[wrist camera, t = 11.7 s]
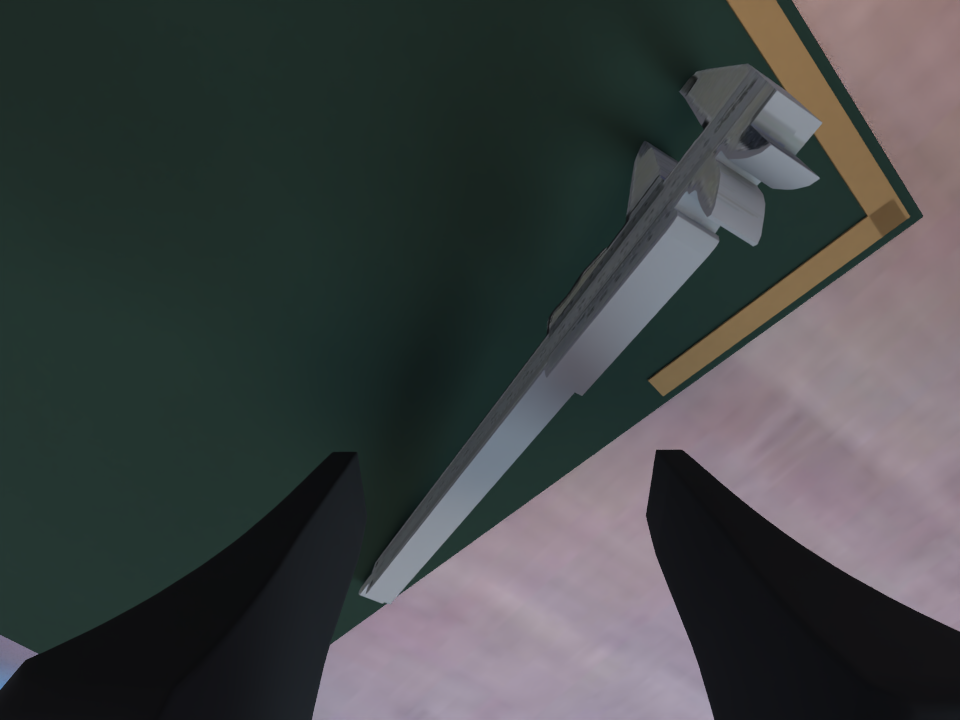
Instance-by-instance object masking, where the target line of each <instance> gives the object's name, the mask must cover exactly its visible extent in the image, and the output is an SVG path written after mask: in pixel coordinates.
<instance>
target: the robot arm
mask: <svg viewBox="0 0 960 720" xmlns="http://www.w3.org/2000/svg"><path fill="white" fill-rule="evenodd" d="M646 518H647V522H648V526H649V530H650V534H651V538H652V542H653V546H654V549H655V553H656V556H657V559H658V562H659V564H660V567H661V569H662V572H663V574H664V577H665V580H666V582H667V585H668V587H669V590H670V592H671V595H672V597H673V600H674V602H675V605H676V607H677V610H678V612H679V615H680V617H681V620H682V622H683V625H684V627H685V630H686V632H687V635H688V637H689V640H690V642H691V645H692V647H693V650H694V653H695V656H696V659H697V662H698V664H699V668H700V671H701V675H702V678H703V681H704V685H705V688H706V692H707V695H708V699H709V702H710V705H711V709H712V712H713V716H714V720H960V632H959V631H957V630H955V629H953V628H951V627H948V626H946V625H944V624H942V623H940V622H938V621H936V620H934V619H932V618H930V617H928V616H925V615H923V614H921V613H919V612H917V611H915V610H913V609H911V608H909V607H907V606H905V605H903V604H901V603H899V602H897V601H896V600H894V599H892V598H890V597H888V596H886V595H884V594H882V593H881V592H879V591H877V590H875V589H873V588H872V587H870V586H868V585H866V584H864V583H863V582H861V581H859V580H857V579H855V578H854V577H852V576H850V575H848V574H847V573H845V572H843V571H842V570H840V569H838V568H837V567H835V566H833V565H832V564H830V563H829V562H827V561H826V560H824V559H822V558H821V557H819V556H818V555H816V554H815V553H813V552H812V551H810V550H808V549H807V548H805V547H804V546H802V545H801V544H799V543H798V542H796V541H795V540H794V539H792V538H791V537H789V536H788V535H786V534H785V533H784V532H782V531H781V530H780V529H778V528H777V527H776V526H774V525H773V524H772V523H770V522H769V521H768V520H766V519H765V518H763V517H762V516H761V515H760V514H758V513H757V512H756V511H754V510H753V509H752V508H751V507H749V506H748V505H747V504H746V503H744V502H743V501H742V500H741V499H740V498H738V497H737V496H736V495H735V494H733V493H732V492H731V491H730V490H729V489H728V488H726V487H725V486H724V485H723V484H722V483H720V482H719V481H718V480H717V479H716V478H715V477H713V476H712V475H711V474H710V473H709V472H708V471H707V470H705V469H704V468H703V467H702V466H701V465H700V464H698V463H697V462H696V461H695V460H694V459H693V458H691V457H690V456H689V455H688V454H687V453H685V452H684V451H683V450H656V454H655V461H654V467H653V474H652V480H651V487H650V493H649V500H648V506H647V513H646ZM366 521H367V511H366V505H365V498H364V492H363V485H362V479H361V472H360V465H359V459H358V452H332V453H331V454H330V455H329V456H328V457H327V458H326V459H325V460H324V461H323V462H322V463H321V464H320V465H318V466H317V467H316V468H315V469H314V470H313V471H312V472H311V473H310V474H309V475H308V476H307V477H306V478H305V479H304V480H303V481H302V482H301V483H300V484H299V485H298V486H297V487H296V488H295V489H294V490H293V491H292V492H291V493H290V494H289V495H288V496H286V497H285V498H284V499H283V500H282V501H281V502H280V503H279V504H278V505H277V506H276V507H275V508H274V509H272V510H271V511H270V512H269V513H268V514H267V515H265V516H264V517H263V518H262V519H261V520H260V521H258V522H257V523H256V524H255V525H254V526H253V527H251V528H250V529H249V530H248V531H247V532H246V533H244V534H243V535H242V536H241V537H239V538H238V539H237V540H236V541H234V542H233V543H232V544H230V545H229V546H228V547H226V548H225V549H224V550H222V551H221V552H219V553H218V554H217V555H215V556H214V557H213V558H211V559H210V560H208V561H207V562H206V563H204V564H203V565H201V566H200V567H198V568H197V569H195V570H194V571H192V572H190V573H189V574H187V575H186V576H184V577H183V578H181V579H179V580H178V581H176V582H175V583H173V584H172V585H170V586H168V587H167V588H165V589H164V590H162V591H161V592H159V593H157V594H156V595H154V596H152V597H150V598H149V599H147V600H145V601H143V602H142V603H140V604H138V605H136V606H135V607H133V608H131V609H129V610H127V611H126V612H124V613H122V614H120V615H118V616H116V617H114V618H113V619H111V620H109V621H107V622H105V623H103V624H101V625H99V626H97V627H95V628H93V629H91V630H89V631H87V632H85V633H83V634H81V635H79V636H77V637H74V638H72V639H70V640H68V641H66V642H64V643H62V644H60V645H58V646H55V647H53V648H51V649H49V650H47V651H45V652H43V653H41V654H38V655H36V656H34V657H32V658H29V659H27V660H25V662H24V663H23V664H22V665H21V666H20V667H19V668H18V669H17V671H16V672H15V673H14V674H13V675H12V677H11V678H10V679H9V680H8V681H7V683H6V684H5V685H4V686H3V687H2V689H1V690H0V720H312V716H313V711H314V707H315V702H316V698H317V694H318V689H319V685H320V681H321V676H322V672H323V668H324V663H325V660H326V656H327V653H328V650H329V646H330V643H331V640H332V637H333V634H334V631H335V628H336V625H337V622H338V619H339V616H340V613H341V610H342V607H343V604H344V601H345V598H346V595H347V592H348V589H349V586H350V583H351V580H352V577H353V574H354V571H355V568H356V565H357V562H358V559H359V556H360V551H361V546H362V542H363V537H364V531H365V526H366Z"/></svg>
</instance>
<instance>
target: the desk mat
mask: <svg viewBox="0 0 960 720" xmlns="http://www.w3.org/2000/svg"><path fill="white" fill-rule="evenodd" d="M741 64H749V65H751V66H752V67H753V68H755V69H756V70H758V71H759V72H760V73H762V74H763V75H765V76H766V77H767V78H769V79H770V80H772V81H773V82H774V83H776V84H777V85H779V86H780V87H781V88H783V89H784V90H786V91H787V92H788V93H789V94H791V95H792V96H793V97H794V98H795V99H796V100H797V101H799V102H800V103H801V104H802V105H803V106H804V107H805V108H807V109H808V110H809V111H810V112H811V113H812V114H813V115H814V116H815V117H817V118H818V119H819V120H820V121H821V122H822V124H821V126H820V127H819V128H818V129H817V130H816V131H815V133H814V134H813V135H812V136H811V137H810V138H809V140H808V141H807V142H806V143H805V144H804V145H803V147H802V148H801V149H800V150H799V151H798V152H797V154H796V155H795V156H796V157H798V158H799V159H800V160H801V161H802V162H803V163H804V164H805V165H806V166H807V167H809V168H810V169H811V170H812V171H813V172H814V173H815V174H816V175H817V176H818V177H819V178H820V179H818V180H817V181H816V182H814V183H813V184H811V185H810V186H806V187H802V188H798V189H794V190H784V189H772V188H770V187H769V186H767V185H766V184H764V183H763V182H760V183H759V184H758V185H757V187H758V188H759V189H760V191H761V192H762V193H763V196H764V201H765V214H764V221H763V227H762V234H761V237H760V240H759V242H758V244H757V245H755V246H752V245H750V244H749V243H747V242H746V241H744V240H742V239H741V238H739V237H738V236H736V235H734V234H733V233H731V232H730V231H728V230H726V229H725V228H723V227H722V226H720V227H719V228H718V230H717V231H716V233H715V234H716V235H717V236H719V243H718V244H717V246H716V247H715V249H714V250H713V251H712V252H711V253H710V255H709V256H708V257H707V258H706V259H705V260H704V262H703V263H702V264H701V265H700V266H699V267H698V268H697V269H696V270H695V271H694V273H693V274H692V275H691V276H690V277H689V278H688V279H687V280H686V281H685V283H684V284H683V285H682V286H681V287H680V288H679V289H678V290H677V291H676V293H675V294H674V295H673V296H672V297H671V298H670V299H669V300H668V301H667V302H666V304H665V305H664V306H663V307H662V308H661V309H660V310H659V311H658V312H657V314H656V315H655V316H654V317H653V318H652V319H651V320H650V321H649V322H648V324H647V325H646V326H645V327H644V328H643V329H642V330H641V331H640V332H639V333H638V335H637V336H636V337H635V338H634V339H633V340H632V341H631V342H630V343H629V345H628V346H627V347H626V348H625V349H624V350H623V351H622V352H621V353H620V355H619V356H618V357H617V358H616V359H615V360H614V361H613V362H612V363H611V365H610V366H609V367H608V368H607V369H606V370H605V371H604V372H603V373H602V374H601V376H600V377H599V378H598V379H597V380H596V381H595V382H594V383H593V384H592V386H591V387H590V388H589V389H588V390H587V391H586V392H585V393H584V394H583V396H581V395H579V394H577V393H574V394H573V395H572V396H571V397H570V398H569V400H568V401H567V402H566V403H565V404H564V405H563V406H562V408H561V409H560V410H559V411H558V412H557V413H556V414H555V416H554V417H553V418H552V419H551V420H550V421H549V422H548V424H547V425H546V426H545V427H544V428H543V429H542V431H541V432H540V433H539V434H538V435H537V436H536V437H535V439H534V440H533V441H532V442H531V443H530V444H529V445H528V447H527V448H526V449H525V450H524V451H523V452H522V454H521V455H520V456H519V457H518V458H517V459H516V460H515V462H514V463H513V464H512V465H511V466H510V467H509V468H508V470H507V471H506V472H505V473H504V474H503V475H502V477H501V478H500V479H499V480H498V481H497V482H496V483H495V485H494V486H493V487H492V488H491V489H490V490H489V491H488V493H487V494H486V495H485V496H484V497H483V498H482V499H481V501H480V502H479V503H478V504H477V505H476V506H475V508H474V509H473V510H472V511H471V512H470V513H469V514H468V516H467V517H466V518H465V519H464V520H463V521H462V522H461V524H460V525H459V526H458V527H457V528H456V529H455V531H454V532H453V533H452V534H451V535H450V536H449V537H448V539H447V540H446V541H445V542H444V543H443V544H442V545H441V547H440V548H439V549H438V550H437V551H436V552H435V553H434V555H433V556H432V557H431V558H430V559H429V560H428V561H427V563H426V564H425V565H424V566H423V567H422V568H421V569H420V571H419V572H418V573H417V574H416V575H415V576H414V577H413V579H412V580H411V581H410V582H409V583H408V584H407V585H406V587H405V588H404V589H403V590H402V591H401V592H400V593H399V594H401V593H402V592H404V591H405V590H406V589H408V588H409V587H411V586H412V585H413V584H415V583H416V582H418V581H419V580H420V579H422V578H423V577H424V576H426V575H427V574H429V573H430V572H431V571H433V570H434V569H436V568H437V567H438V566H440V565H441V564H442V563H444V562H445V561H447V560H448V559H449V558H451V557H452V556H454V555H455V554H456V553H458V552H459V551H460V550H462V549H463V548H465V547H466V546H467V545H469V544H470V543H472V542H473V541H474V540H476V539H477V538H479V537H480V536H481V535H483V534H484V533H485V532H487V531H488V530H490V529H491V528H492V527H494V526H495V525H497V524H498V523H499V522H501V521H502V520H503V519H505V518H506V517H508V516H509V515H510V514H512V513H513V512H515V511H516V510H517V509H519V508H520V507H521V506H523V505H524V504H526V503H527V502H528V501H530V500H531V499H533V498H534V497H535V496H537V495H538V494H540V493H541V492H542V491H544V490H545V489H546V488H548V487H549V486H551V485H552V484H553V483H555V482H556V481H558V480H559V479H560V478H562V477H563V476H564V475H566V474H567V473H569V472H570V471H571V470H573V469H574V468H576V467H577V466H578V465H580V464H581V463H582V462H584V461H585V460H587V459H588V458H589V457H591V456H592V455H594V454H595V453H596V452H598V451H599V450H601V449H602V448H603V447H605V446H606V445H607V444H609V443H610V442H612V441H613V440H614V439H616V438H617V437H619V436H620V435H621V434H623V433H624V432H625V431H627V430H628V429H630V428H631V427H632V426H634V425H635V424H637V423H638V422H639V421H641V420H642V419H643V418H645V417H646V416H648V415H649V414H650V413H652V412H653V411H655V410H656V409H657V408H659V407H660V406H662V405H663V404H664V403H666V402H667V401H668V400H670V399H671V398H673V397H674V396H675V395H677V394H678V393H680V392H681V391H682V390H684V389H685V388H686V387H688V386H689V385H691V384H692V383H693V382H695V381H696V380H698V379H699V378H700V377H702V376H703V375H704V374H706V373H707V372H709V371H710V370H711V369H713V368H714V367H716V366H717V365H718V364H720V363H721V362H723V361H724V360H725V359H727V358H728V357H729V356H731V355H732V354H734V353H735V352H736V351H738V350H739V349H741V348H742V347H743V346H745V345H746V344H747V343H749V342H750V341H752V340H753V339H754V338H756V337H757V336H759V335H760V334H761V333H763V332H764V331H765V330H767V329H768V328H770V327H771V326H772V325H774V324H775V323H777V322H778V321H779V320H781V319H782V318H784V317H785V316H786V315H788V314H789V313H790V312H792V311H793V310H795V309H796V308H797V307H799V306H800V305H802V304H803V303H804V302H806V301H807V300H808V299H810V298H811V297H813V296H814V295H815V294H817V293H818V292H820V291H821V290H822V289H824V288H825V287H826V286H828V285H829V284H831V283H832V282H833V281H835V280H836V279H838V278H839V277H840V276H842V275H843V274H844V273H846V272H847V271H849V270H850V269H851V268H853V267H854V266H856V265H857V264H858V263H860V262H861V261H863V260H864V259H865V258H867V257H868V256H869V255H871V254H872V253H874V252H875V251H876V250H878V249H879V248H881V247H882V246H883V245H885V244H886V243H887V242H889V241H890V240H892V239H893V238H894V237H896V236H897V235H899V234H900V233H901V232H903V231H904V230H905V229H907V228H908V227H910V226H911V225H912V224H914V223H915V222H917V221H918V220H919V219H921V218H922V217H923V215H922V213H921V211H920V210H919V208H918V207H917V205H916V203H915V202H914V200H913V198H912V197H911V195H910V193H909V192H908V190H907V189H906V187H905V185H904V184H903V182H902V180H901V179H900V177H899V175H898V174H897V172H896V170H895V169H894V167H893V166H892V164H891V162H890V161H889V159H888V157H887V156H886V154H885V152H884V151H883V149H882V148H881V146H880V144H879V143H878V141H877V139H876V138H875V136H874V134H873V133H872V131H871V130H870V128H869V126H868V125H867V123H866V121H865V120H864V118H863V116H862V115H861V113H860V111H859V110H858V108H857V107H856V105H855V103H854V102H853V100H852V98H851V97H850V95H849V93H848V92H847V90H846V89H845V87H844V85H843V84H842V82H841V80H840V79H839V77H838V75H837V74H836V72H835V70H834V69H833V67H832V66H831V64H830V62H829V61H828V59H827V57H826V56H825V54H824V52H823V51H822V49H821V48H820V46H819V44H818V43H817V41H816V39H815V38H814V36H813V34H812V33H811V31H810V29H809V28H808V26H807V25H806V23H805V21H804V20H803V18H802V16H801V15H800V13H799V11H798V10H797V8H796V7H795V5H794V3H793V2H792V0H0V635H2V636H4V637H6V638H8V639H10V640H12V641H14V642H16V643H18V644H20V645H22V646H24V647H26V648H28V649H30V650H32V651H34V652H36V653H38V654H41V653H43V652H45V651H47V650H49V649H51V648H53V647H55V646H58V645H60V644H62V643H64V642H66V641H68V640H70V639H72V638H74V637H77V636H79V635H81V634H83V633H85V632H87V631H89V630H91V629H93V628H95V627H97V626H99V625H101V624H103V623H105V622H107V621H109V620H111V619H113V618H114V617H116V616H118V615H120V614H122V613H124V612H126V611H127V610H129V609H131V608H133V607H135V606H136V605H138V604H140V603H142V602H143V601H145V600H147V599H149V598H150V597H152V596H154V595H156V594H157V593H159V592H161V591H162V590H164V589H165V588H167V587H168V586H170V585H172V584H173V583H175V582H176V581H178V580H179V579H181V578H183V577H184V576H186V575H187V574H189V573H190V572H192V571H194V570H195V569H197V568H198V567H200V566H201V565H203V564H204V563H206V562H207V561H208V560H210V559H211V558H213V557H214V556H215V555H217V554H218V553H219V552H221V551H222V550H224V549H225V548H226V547H228V546H229V545H230V544H232V543H233V542H234V541H236V540H237V539H238V538H239V537H241V536H242V535H243V534H244V533H246V532H247V531H248V530H249V529H250V528H251V527H253V526H254V525H255V524H256V523H257V522H258V521H260V520H261V519H262V518H263V517H264V516H265V515H267V514H268V513H269V512H270V511H271V510H272V509H274V508H275V507H276V506H277V505H278V504H279V503H280V502H281V501H282V500H283V499H284V498H285V497H286V496H288V495H289V494H290V493H291V492H292V491H293V490H294V489H295V488H296V487H297V486H298V485H299V484H300V483H301V482H302V481H303V480H304V479H305V478H306V477H307V476H308V475H309V474H310V473H311V472H312V471H313V470H314V469H315V468H316V467H317V466H318V465H320V464H321V463H322V462H323V461H324V460H325V459H326V458H327V457H328V456H329V455H330V454H331V453H332V452H358V459H359V465H360V472H361V479H362V485H363V492H364V498H365V505H366V511H367V521H366V526H365V531H364V537H363V542H362V546H361V551H360V556H359V559H358V562H357V565H356V568H355V571H354V574H353V577H352V580H351V583H350V586H349V589H348V592H347V595H346V598H345V601H344V604H343V607H342V610H341V613H340V616H339V619H338V622H337V625H336V628H335V631H334V634H333V637H332V640H331V643H330V644H332V643H333V642H334V641H336V640H337V639H339V638H340V637H341V636H343V635H344V634H345V633H347V632H348V631H350V630H351V629H352V628H354V627H355V626H357V625H358V624H359V623H361V622H362V621H363V620H365V619H366V618H368V617H369V616H370V615H372V614H373V613H375V612H376V611H377V610H379V609H380V608H381V607H383V606H384V605H386V604H387V603H385V602H384V603H383V604H382V603H379V602H377V601H374V600H371V599H369V598H366V597H364V596H361V595H360V594H359V590H360V588H361V587H362V585H363V584H364V582H365V581H366V580H367V579H368V577H369V576H370V575H371V574H372V571H373V568H374V565H375V562H376V560H377V559H378V557H379V556H380V554H381V553H382V552H383V551H384V549H385V548H386V547H387V545H388V544H389V543H390V541H391V540H392V539H393V537H394V536H395V535H396V533H397V532H398V531H399V530H400V528H401V527H402V526H403V524H404V523H405V522H406V520H407V519H408V518H409V516H410V515H411V514H412V512H413V511H414V510H415V509H416V507H417V506H418V505H419V503H420V502H421V501H422V499H423V498H424V497H425V495H426V494H427V493H428V491H429V490H430V489H431V488H432V486H433V485H434V484H435V482H436V481H437V480H438V478H439V477H440V476H441V474H442V473H443V472H444V470H445V469H446V468H447V467H448V465H449V464H450V463H451V461H452V460H453V459H454V457H455V456H456V455H457V453H458V452H459V451H460V449H461V448H462V447H463V445H464V444H465V443H466V441H467V440H468V439H469V437H470V436H471V435H472V433H473V432H474V431H475V429H476V428H477V427H478V426H479V424H480V423H481V422H482V420H483V419H484V418H485V416H486V415H487V414H488V412H489V411H490V410H491V408H492V407H493V406H494V404H495V403H496V402H497V400H498V399H499V398H500V396H501V395H502V394H503V392H504V391H505V390H506V388H507V387H508V386H509V384H510V383H511V382H512V380H513V379H514V378H515V377H516V375H517V374H518V373H519V371H520V370H521V369H522V367H523V366H524V365H525V363H526V362H527V361H528V359H529V358H530V357H531V355H532V354H533V353H534V351H535V350H536V349H537V347H538V346H539V345H540V343H541V342H542V341H543V339H544V338H545V337H546V334H547V321H548V318H549V316H550V315H551V313H552V312H553V310H554V309H555V308H556V307H557V305H558V304H559V303H560V302H561V301H562V300H563V299H564V298H565V297H566V295H567V294H568V293H569V291H570V290H571V288H572V287H573V285H574V283H575V282H576V280H577V279H578V277H579V276H580V274H581V273H582V272H583V270H584V269H585V268H586V267H587V266H588V265H589V264H590V263H591V262H592V261H593V260H594V259H595V258H596V257H597V255H598V254H599V253H600V252H601V251H602V250H603V249H604V248H607V247H608V246H609V245H610V243H611V242H612V241H613V239H614V238H615V237H616V235H617V234H618V232H619V231H620V230H621V228H622V227H623V226H624V224H625V222H626V215H627V208H628V201H629V195H630V188H631V181H632V174H633V168H634V162H635V159H636V157H637V154H638V152H639V149H640V147H641V146H642V144H643V142H644V141H646V142H648V143H650V144H651V145H653V146H654V147H656V148H658V149H659V150H661V151H662V152H664V153H665V154H667V155H668V156H670V157H672V158H673V159H675V160H676V161H678V162H679V161H680V159H681V158H682V157H683V155H684V154H685V153H686V151H687V150H688V149H689V148H690V146H691V145H692V144H693V143H694V141H695V140H696V139H697V138H698V136H699V135H700V134H701V133H702V131H703V130H704V129H703V127H702V126H701V124H700V122H699V121H698V119H697V117H696V116H695V114H694V112H693V111H692V109H691V107H690V106H689V104H688V102H687V101H686V99H685V98H684V97H683V95H682V94H681V93H680V92H679V91H680V90H681V89H682V87H683V86H684V85H685V83H686V82H687V81H688V80H689V79H690V78H691V77H692V76H693V75H694V74H695V73H696V72H697V71H701V70H706V69H711V68H719V67H726V66H734V65H741Z"/></svg>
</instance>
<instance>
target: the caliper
mask: <svg viewBox="0 0 960 720" xmlns="http://www.w3.org/2000/svg"><path fill="white" fill-rule="evenodd" d="M679 92H680V93H681V94H682V95H683V97H684V98H685V99H686V101H687V102H688V104H689V106H690V107H691V109H692V111H693V112H694V114H695V116H696V117H697V119H698V121H699V122H700V124H701V126H702V127H703V129H704V130H703V131H702V133H701V134H700V135H699V136H698V138H697V139H696V140H695V141H694V143H693V144H692V145H691V146H690V148H689V149H688V150H687V151H686V153H685V154H684V155H683V157H682V158H681V159H680V161H679V162H678V161H676V160H675V159H673V158H672V157H670V156H668V155H667V154H665V153H664V152H662V151H661V150H659V149H658V148H656V147H654V146H653V145H651V144H650V143H648V142H646V141H644V142H643V144H642V146H641V147H640V149H639V152H638V154H637V157H636V159H635V162H634V168H633V174H632V181H631V188H630V195H629V201H628V208H627V215H626V222H625V224H624V226H623V227H622V228H621V230H620V231H619V232H618V234H617V235H616V237H615V238H614V239H613V241H612V242H611V243H610V245H609V246H608V247H607V248H604V249H603V250H602V251H601V252H600V253H599V254H598V255H597V257H596V258H595V259H594V260H593V261H592V262H591V263H590V264H589V265H588V266H587V267H586V268H585V269H584V270H583V272H582V273H581V274H580V276H579V277H578V279H577V280H576V282H575V283H574V285H573V287H572V288H571V290H570V291H569V293H568V294H567V295H566V297H565V298H564V299H563V300H562V301H561V302H560V303H559V304H558V305H557V307H556V308H555V309H554V310H553V312H552V313H551V315H550V316H549V318H548V321H547V334H546V337H545V338H544V339H543V341H542V342H541V343H540V345H539V346H538V347H537V349H536V350H535V351H534V353H533V354H532V355H531V357H530V358H529V359H528V361H527V362H526V363H525V365H524V366H523V367H522V369H521V370H520V371H519V373H518V374H517V375H516V377H515V378H514V379H513V380H512V382H511V383H510V384H509V386H508V387H507V388H506V390H505V391H504V392H503V394H502V395H501V396H500V398H499V399H498V400H497V402H496V403H495V404H494V406H493V407H492V408H491V410H490V411H489V412H488V414H487V415H486V416H485V418H484V419H483V420H482V422H481V423H480V424H479V426H478V427H477V428H476V429H475V431H474V432H473V433H472V435H471V436H470V437H469V439H468V440H467V441H466V443H465V444H464V445H463V447H462V448H461V449H460V451H459V452H458V453H457V455H456V456H455V457H454V459H453V460H452V461H451V463H450V464H449V465H448V467H447V468H446V469H445V470H444V472H443V473H442V474H441V476H440V477H439V478H438V480H437V481H436V482H435V484H434V485H433V486H432V488H431V489H430V490H429V491H428V493H427V494H426V495H425V497H424V498H423V499H422V501H421V502H420V503H419V505H418V506H417V507H416V509H415V510H414V511H413V512H412V514H411V515H410V516H409V518H408V519H407V520H406V522H405V523H404V524H403V526H402V527H401V528H400V530H399V531H398V532H397V533H396V535H395V536H394V537H393V539H392V540H391V541H390V543H389V544H388V545H387V547H386V548H385V549H384V551H383V552H382V553H381V554H380V556H379V557H378V559H377V560H376V562H375V565H374V568H373V571H372V574H371V575H370V576H369V577H368V579H367V580H366V581H365V582H364V584H363V585H362V587H361V588H360V590H359V594H360V595H361V596H364V597H366V598H369V599H371V600H374V601H377V602H379V603H382V604H383V603H384V602H385V603H388V604H391V603H392V601H393V600H394V599H395V598H396V597H397V596H398V595H399V593H400V592H401V591H402V590H403V589H404V588H405V587H406V585H407V584H408V583H409V582H410V581H411V580H412V579H413V577H414V576H415V575H416V574H417V573H418V572H419V571H420V569H421V568H422V567H423V566H424V565H425V564H426V563H427V561H428V560H429V559H430V558H431V557H432V556H433V555H434V553H435V552H436V551H437V550H438V549H439V548H440V547H441V545H442V544H443V543H444V542H445V541H446V540H447V539H448V537H449V536H450V535H451V534H452V533H453V532H454V531H455V529H456V528H457V527H458V526H459V525H460V524H461V522H462V521H463V520H464V519H465V518H466V517H467V516H468V514H469V513H470V512H471V511H472V510H473V509H474V508H475V506H476V505H477V504H478V503H479V502H480V501H481V499H482V498H483V497H484V496H485V495H486V494H487V493H488V491H489V490H490V489H491V488H492V487H493V486H494V485H495V483H496V482H497V481H498V480H499V479H500V478H501V477H502V475H503V474H504V473H505V472H506V471H507V470H508V468H509V467H510V466H511V465H512V464H513V463H514V462H515V460H516V459H517V458H518V457H519V456H520V455H521V454H522V452H523V451H524V450H525V449H526V448H527V447H528V445H529V444H530V443H531V442H532V441H533V440H534V439H535V437H536V436H537V435H538V434H539V433H540V432H541V431H542V429H543V428H544V427H545V426H546V425H547V424H548V422H549V421H550V420H551V419H552V418H553V417H554V416H555V414H556V413H557V412H558V411H559V410H560V409H561V408H562V406H563V405H564V404H565V403H566V402H567V401H568V400H569V398H570V397H571V396H572V395H573V394H574V393H577V394H579V395H581V396H583V394H584V393H585V392H586V391H587V390H588V389H589V388H590V387H591V386H592V384H593V383H594V382H595V381H596V380H597V379H598V378H599V377H600V376H601V374H602V373H603V372H604V371H605V370H606V369H607V368H608V367H609V366H610V365H611V363H612V362H613V361H614V360H615V359H616V358H617V357H618V356H619V355H620V353H621V352H622V351H623V350H624V349H625V348H626V347H627V346H628V345H629V343H630V342H631V341H632V340H633V339H634V338H635V337H636V336H637V335H638V333H639V332H640V331H641V330H642V329H643V328H644V327H645V326H646V325H647V324H648V322H649V321H650V320H651V319H652V318H653V317H654V316H655V315H656V314H657V312H658V311H659V310H660V309H661V308H662V307H663V306H664V305H665V304H666V302H667V301H668V300H669V299H670V298H671V297H672V296H673V295H674V294H675V293H676V291H677V290H678V289H679V288H680V287H681V286H682V285H683V284H684V283H685V281H686V280H687V279H688V278H689V277H690V276H691V275H692V274H693V273H694V271H695V270H696V269H697V268H698V267H699V266H700V265H701V264H702V263H703V262H704V260H705V259H706V258H707V257H708V256H709V255H710V253H711V252H712V251H713V250H714V249H715V247H716V246H717V244H718V243H719V236H717V235H716V234H715V233H716V231H717V230H718V228H719V227H720V226H722V227H723V228H725V229H726V230H728V231H730V232H731V233H733V234H734V235H736V236H738V237H739V238H741V239H742V240H744V241H746V242H747V243H749V244H750V245H752V246H755V245H757V244H758V242H759V240H760V237H761V234H762V227H763V221H764V214H765V201H764V196H763V193H762V192H761V191H760V189H759V188H758V187H757V185H758V184H759V183H760V182H763V183H764V184H766V185H767V186H769V187H770V188H772V189H784V190H794V189H798V188H802V187H806V186H810V185H811V184H813V183H814V182H816V181H817V180H818V179H820V178H819V177H818V176H817V175H816V174H815V173H814V172H813V171H812V170H811V169H810V168H809V167H807V166H806V165H805V164H804V163H803V162H802V161H801V160H800V159H799V158H798V157H796V156H795V155H796V154H797V152H798V151H799V150H800V149H801V148H802V147H803V145H804V144H805V143H806V142H807V141H808V140H809V138H810V137H811V136H812V135H813V134H814V133H815V131H816V130H817V129H818V128H819V127H820V126H821V124H822V122H821V121H820V120H819V119H818V118H817V117H815V116H814V115H813V114H812V113H811V112H810V111H809V110H808V109H807V108H805V107H804V106H803V105H802V104H801V103H800V102H799V101H797V100H796V99H795V98H794V97H793V96H792V95H791V94H789V93H788V92H787V91H786V90H784V89H783V88H781V87H780V86H779V85H777V84H776V83H774V82H773V81H772V80H770V79H769V78H767V77H766V76H765V75H763V74H762V73H760V72H759V71H758V70H756V69H755V68H753V67H752V66H751V65H749V64H741V65H734V66H726V67H719V68H711V69H706V70H701V71H697V72H696V73H695V74H694V75H693V76H692V77H691V78H690V79H689V80H688V81H687V82H686V83H685V85H684V86H683V87H682V89H681V90H680V91H679Z"/></svg>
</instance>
